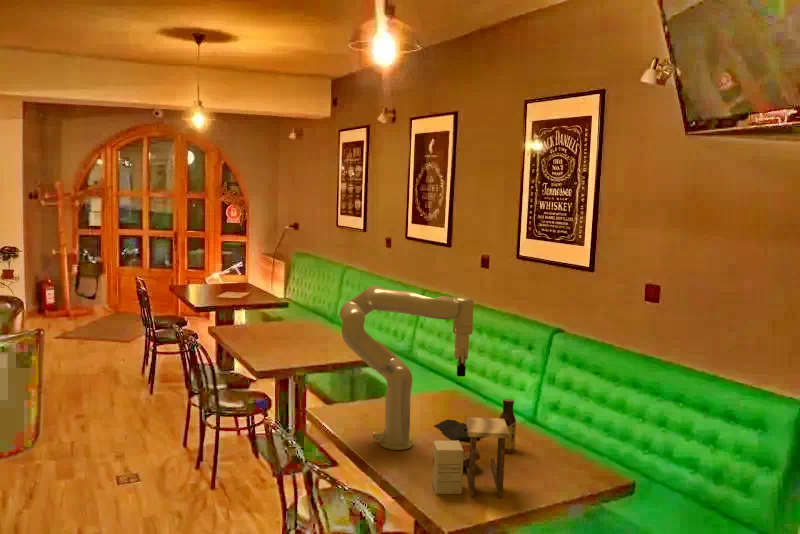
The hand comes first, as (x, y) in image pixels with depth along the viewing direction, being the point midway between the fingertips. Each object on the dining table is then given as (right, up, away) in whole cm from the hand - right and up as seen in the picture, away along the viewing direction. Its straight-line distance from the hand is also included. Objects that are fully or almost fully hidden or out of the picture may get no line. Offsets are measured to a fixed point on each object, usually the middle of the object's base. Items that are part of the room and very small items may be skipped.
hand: (461, 375), depth 267 cm
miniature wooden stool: (+5, -31, -32) cm, 44 cm away
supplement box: (-8, -31, -39) cm, 51 cm away
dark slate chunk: (0, -27, +14) cm, 30 cm away
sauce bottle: (+17, -28, -4) cm, 33 cm away
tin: (+3, -24, -19) cm, 31 cm away
